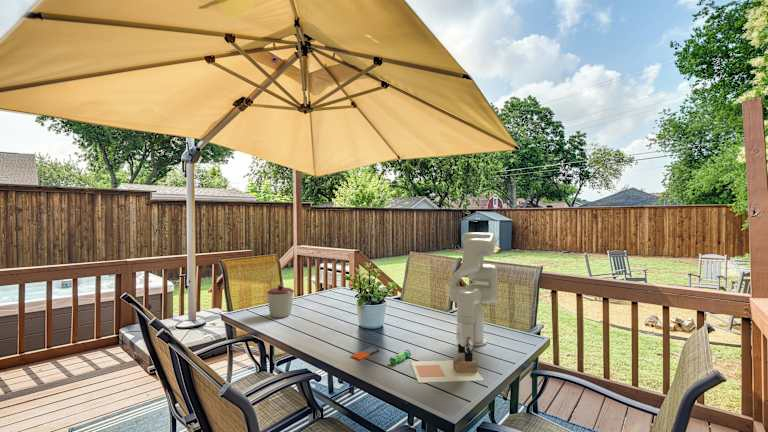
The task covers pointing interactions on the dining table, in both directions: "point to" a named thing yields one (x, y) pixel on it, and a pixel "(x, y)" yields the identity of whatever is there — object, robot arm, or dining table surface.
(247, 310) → the dining table surface
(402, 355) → the candy
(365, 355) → the orange grey slab
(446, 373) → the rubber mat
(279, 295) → the canister
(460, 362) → the walnut card box
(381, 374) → the dining table surface
